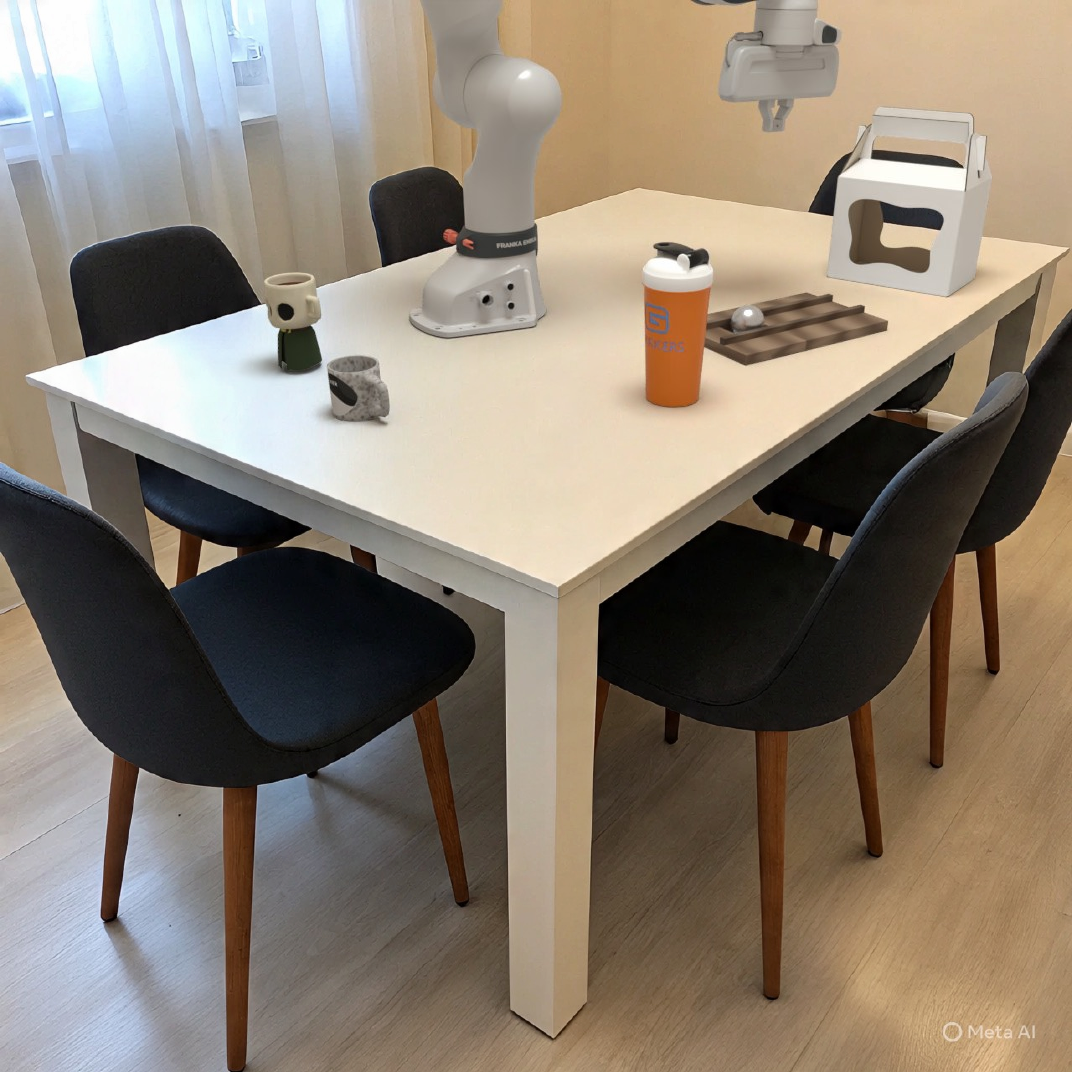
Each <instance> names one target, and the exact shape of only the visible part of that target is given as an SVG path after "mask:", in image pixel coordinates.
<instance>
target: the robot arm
mask: <svg viewBox="0 0 1072 1072" xmlns="http://www.w3.org/2000/svg"><path fill="white" fill-rule="evenodd" d="M690 1H691V2H693V3H695V4H697V5H701V6H714V5H715V6H716V5H717V6H731V7H733V6H735V7H736V6H743V5H745V4H747V3H750V2H751V3H752V2H755V10H754V11H755V12H754V18H753V19H754V22H753V31H749V32H742V31H738V32H736V33H734V35H732V36H731V37H730V38H729V39H728V41H727V42H726V44H725V47H724V49H725V50H724V57H723V60H722V63H721V64H722V65H721V70H720V75H719V81H718V87H717V88H718V89H717V93H718V96H719V98H720V99H721V101H723V102H728V103H746V102H747V103H748V102H758V111H759V113H760V115H761V117H762V127H761V129H762V130H761V131H762V132H765V133H773V132H774V133H777V132H784V130H785V127H786V126H785V125H786V120H787V118H788V117H789V116H790V114H791V111H792V110H793V108H794V103H795V100H796V99H811V98H827V97H828V98H829V97H831V96H832V94H834V93H833V92H834V91H835V90H836V87H837V81H838V74H839V64H840V52H839V49H838V47H837V46H836V45H838V44H839V43H841V39H842V30H841V28H839V27H837V26H835V25H833V24H831V23H829V22H826V21H825V20H823V19H821V18H818V9H819V3H818V0H690ZM419 2H420V4H421V7H422V10H423V13H424V16H425V18H426V21H427V23H428V26H429V27H428V28H429V30H430V34H431V39H432V44H433V49H434V57H435V65H436V71H435V74H434V77H433V80H432V95H433V99H434V102H435V104H436V107H437V108H438V109H439V110H440V112H441V113H442V114H443V115H445V116H446V117H447V118H448V119H450V120H451V121H452V122H454V123H456V124H457V125H459V126H461V127H463V128H466V129H467V128H468V129H472V130H475V131H477V139H476V140H477V141H476V147H475V152H474V157H473V159H472V161H471V164H470V165H469V166H468V167H467V168H466V170H465V171H464V173H463V176H462V177H463V178H462V188H463V189H462V192H463V209H464V224H463V226H462V229H460V231H459V232H458V231H455V230H453V229H451V228H448V229H445V230H444V232H443V236H442V237H443V240H445V242H447V243H449V244H452V245H453V244H455V246H456V247H455V250H456V251H455V252H454V253H453V254H451V256H449V257H448V259H447V260H445V262H443V264H442V265H440V267H438V268H437V269H436V270H435V271H434V272H433V273H432V274H431V275H430V276H429V277H428V278H427V279H426V280H425V283H424V285H423V290H422V303H421V304H422V305H421V307H418V308H414V309H412V310H410V312H409V322H410V323H411V324H412V325H413V326H414V327H416V328H417V329H419V330H420V331H423V332H424V333H426V334H430V335H432V336H436V337H441V338H456V337H465V336H471V335H479V334H487V333H494V332H502V331H510V330H516V329H517V330H518V329H525V328H531V327H535V326H536V325H537V323H538V320H539V319H541V318H542V317H544V315H545V314H546V313H547V307H546V305H545V301H544V298H543V294H542V289H541V284H540V277H539V272H538V271H539V270H538V264H537V263H538V262H537V257H538V252H539V235H538V233H539V232H538V224H537V223H536V222H535V178H536V168H537V162H538V160H539V159H538V158H539V153H540V151H541V148H542V145H543V141H544V138H545V137H546V135H547V134H548V132H549V131H550V130H551V129H552V128H553V127H554V126H555V124H556V122H557V121H558V119H559V117H560V114H561V110H562V105H563V94H562V89H561V86H560V83H559V80H558V79H557V77H556V76H555V75H554V74H553V73H552V72H551V71H550V70H549V69H547V68H546V67H543V66H542V65H540V64H538V63H536V62H534V61H532V60H530V59H528V58H524V57H517V56H511V55H510V56H508V55H506V54H505V53H504V52H503V50H502V48H501V44H500V39H499V32H498V31H499V30H498V29H499V28H498V19H499V16H500V15H501V13H502V9H503V0H419ZM776 101H777V107H778V106H779V107H778V109H777V111H776V113H775V116H774V113H773V110H772V109H774V108H775V106H776V105H775V104H776Z"/></svg>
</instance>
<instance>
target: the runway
mask: <svg viewBox="0 0 1072 1072" xmlns="http://www.w3.org/2000/svg"><path fill="white" fill-rule="evenodd" d="M833 300H834V295H833V294H830V293H827V294H823V295H815V294H813V293H809V292H802V293H798V294H797V293H796V294H794V295H793V294H792V295H789V296H784V297H780V298H775V299H770V300H765V301H762V302H761V301H760V302H756V303H752V304H750V305H752V306H755V307H757V308H759V309H760V310H761V312H762V313H763V315H764V320H765V323H764V327H762V328H757V329H753V330H749V331H744V332H740V333H736V334H735V333H734V331H733V329H732V327H731V318H732V315H733V313H734V312H735V311H736V310H737V309H738V308H739V307H740V306H739V307H734V308H729V309H724V310H719V311H716V312H712V313H710V312H709V313H708V316H707V326H706V335H705V344H704V348H707V349H709V350H711V351H713V352H715V353H718V354H719V355H722V356H724V357H726V358H728V359H731V360H733V361H735V362H736V363H737V362H738V363H740V364H741V365H744V366H748V365H753V364H757V363H760V362H766V361H769V360H773V359H777V358H782V357H785V356H789V355H793V354H797V353H800V352H805V351H808V350H812V349H813V350H814V349H818V348H821V347H825V346H829V345H832V344H837V343H840V342H845V341H849V340H852V339H857V338H862V337H865V336H868V335H872V334H873V335H874V334H876V333H881V332H885V331H888V325H889V320H887V319H884V318H881V317H879V316H875V315H872V314H870V313H867V312H865V310H866V306H865V305H864V304H863V305H862V304H858V305H853V306H847V305H844V304H841V303H839V302H836V301H833Z"/></svg>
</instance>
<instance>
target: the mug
mask: <svg viewBox="0 0 1072 1072" xmlns="http://www.w3.org/2000/svg"><path fill="white" fill-rule="evenodd" d="M380 369H381V367H380V362H379V360H378V358H375V357H373V356H370V355H360V354H359V355H356V354H355V355H346V356H341V357H338V358H335V359H333V360H331V361H330V362H328V363H327V365H326V371H327V377H328V385H329V387H328V388H329V392H330V393H329V394H330V402H331V409H332V416H333V417H334V418H335V419H337V420H339V421H343V422H348V423H352V422H353V423H357V422H366V421H370V420H373V419H376V418H378V417H380V418H385V417H388V415H389V414H390V396H389V395H390V394H389V390H388V387H387V386H388V385H386V383H385V382H384V381H383V380H381V379H382V377H381V371H380Z"/></svg>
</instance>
